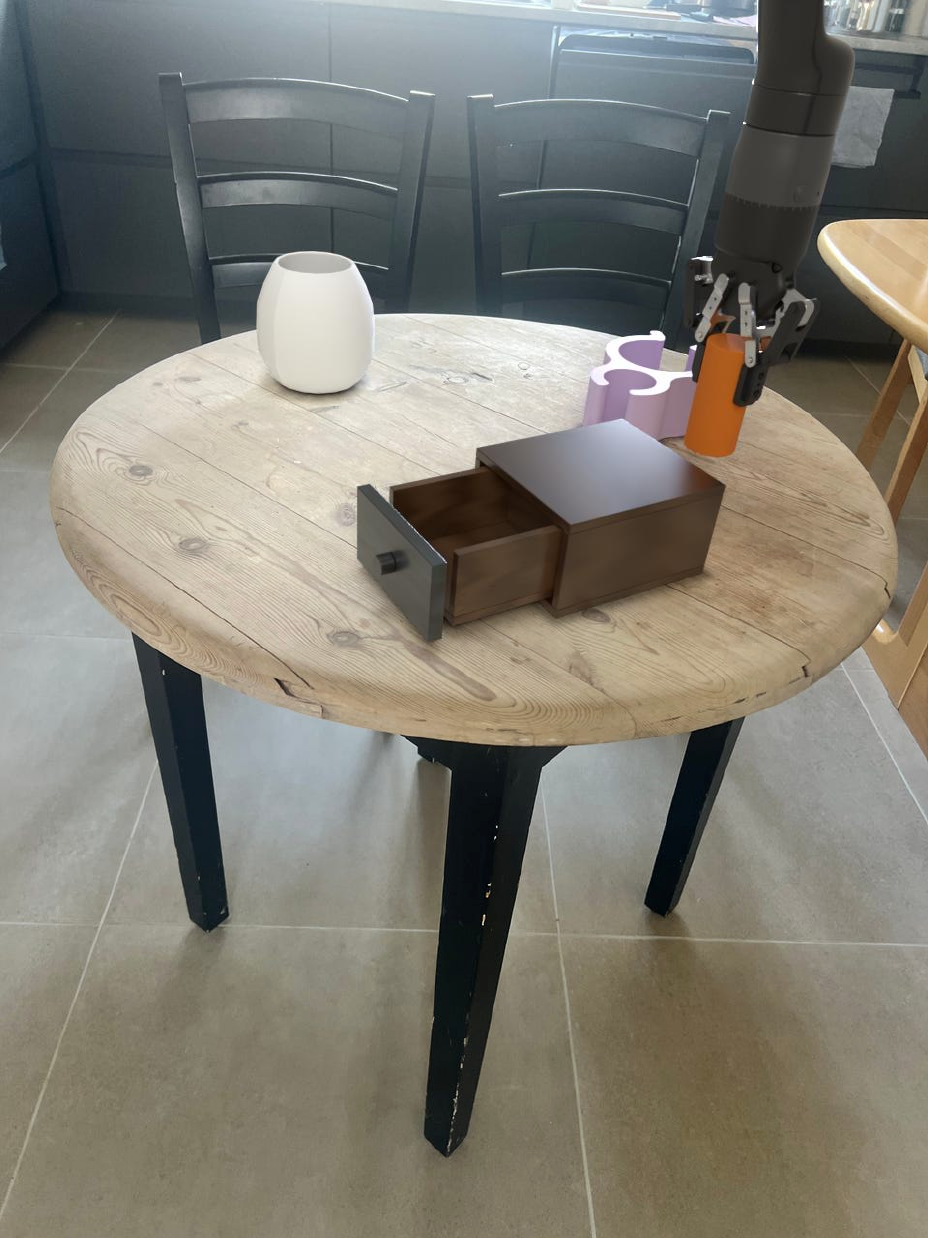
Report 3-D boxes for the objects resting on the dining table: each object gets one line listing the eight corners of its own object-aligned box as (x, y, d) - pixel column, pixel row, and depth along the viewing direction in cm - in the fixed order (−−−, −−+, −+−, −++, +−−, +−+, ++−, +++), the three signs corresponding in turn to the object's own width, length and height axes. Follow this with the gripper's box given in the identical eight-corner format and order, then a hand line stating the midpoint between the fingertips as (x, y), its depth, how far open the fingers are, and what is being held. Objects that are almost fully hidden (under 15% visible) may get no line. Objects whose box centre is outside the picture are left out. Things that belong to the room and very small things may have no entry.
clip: (659, 468, 94) (673, 406, 90) (552, 434, 98) (561, 373, 94) (721, 407, 108) (736, 350, 104) (625, 380, 113) (635, 325, 108)
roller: (707, 461, 83) (734, 355, 77) (673, 439, 86) (696, 336, 80) (745, 452, 85) (774, 348, 79) (710, 431, 88) (735, 329, 82)
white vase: (397, 381, 107) (400, 264, 99) (320, 415, 98) (317, 289, 90) (315, 351, 113) (311, 238, 105) (235, 380, 104) (225, 259, 96)
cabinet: (555, 618, 72) (570, 525, 66) (468, 535, 81) (475, 447, 76) (702, 573, 78) (726, 485, 73) (607, 501, 88) (622, 418, 82)
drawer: (413, 647, 66) (417, 570, 62) (343, 562, 74) (342, 488, 70) (586, 595, 73) (599, 522, 69) (504, 522, 81) (511, 453, 77)
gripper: (876, 210, 69) (810, 417, 79) (743, 170, 79) (699, 359, 89) (808, 216, 66) (748, 431, 76) (678, 173, 76) (640, 369, 86)
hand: (722, 391), depth 83 cm, fingers closed on roller, 4 cm apart
